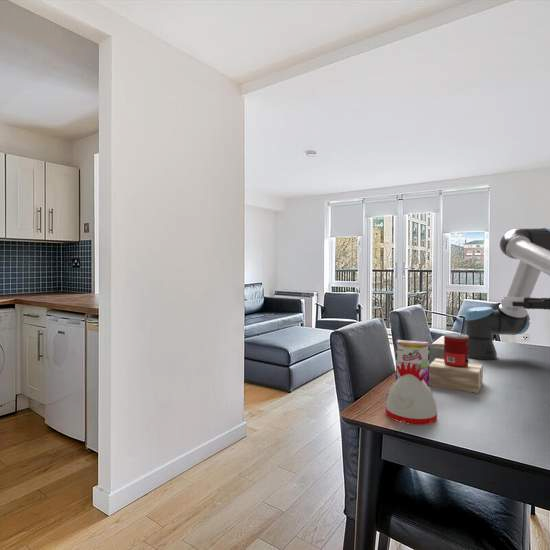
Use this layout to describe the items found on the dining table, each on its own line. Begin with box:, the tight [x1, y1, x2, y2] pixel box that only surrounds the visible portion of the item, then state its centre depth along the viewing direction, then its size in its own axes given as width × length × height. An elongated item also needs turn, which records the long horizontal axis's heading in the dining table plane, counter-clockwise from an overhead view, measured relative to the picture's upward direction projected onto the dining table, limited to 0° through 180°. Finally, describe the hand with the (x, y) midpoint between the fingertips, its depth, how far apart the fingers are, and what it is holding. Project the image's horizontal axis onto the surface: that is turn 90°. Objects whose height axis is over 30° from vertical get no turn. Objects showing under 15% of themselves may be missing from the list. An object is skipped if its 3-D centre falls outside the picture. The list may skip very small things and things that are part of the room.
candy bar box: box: [394, 339, 430, 388], centre depth 131 cm, size 11×5×16 cm, turn 71°
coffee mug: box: [429, 343, 444, 365], centre depth 155 cm, size 13×10×10 cm
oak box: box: [429, 358, 484, 394], centre depth 136 cm, size 14×16×7 cm
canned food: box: [443, 332, 469, 368], centre depth 136 cm, size 8×8×11 cm
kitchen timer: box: [385, 362, 438, 426], centre depth 107 cm, size 14×14×15 cm
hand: (502, 301), depth 137 cm, fingers open, 13 cm apart
